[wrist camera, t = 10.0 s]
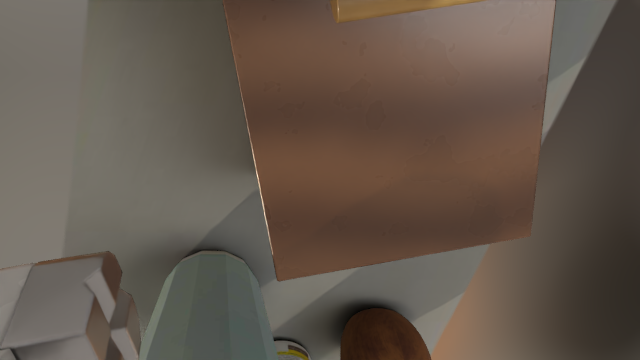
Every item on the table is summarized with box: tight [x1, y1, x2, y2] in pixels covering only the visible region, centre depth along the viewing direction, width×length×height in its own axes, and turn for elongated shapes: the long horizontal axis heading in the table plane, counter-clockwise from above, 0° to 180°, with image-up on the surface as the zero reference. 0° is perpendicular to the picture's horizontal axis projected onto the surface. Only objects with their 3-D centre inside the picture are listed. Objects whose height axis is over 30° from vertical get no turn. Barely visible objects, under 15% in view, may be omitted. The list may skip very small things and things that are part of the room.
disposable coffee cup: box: [139, 251, 279, 360], centre depth 38 cm, size 11×11×15 cm
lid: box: [222, 0, 556, 281], centre depth 26 cm, size 18×14×5 cm
